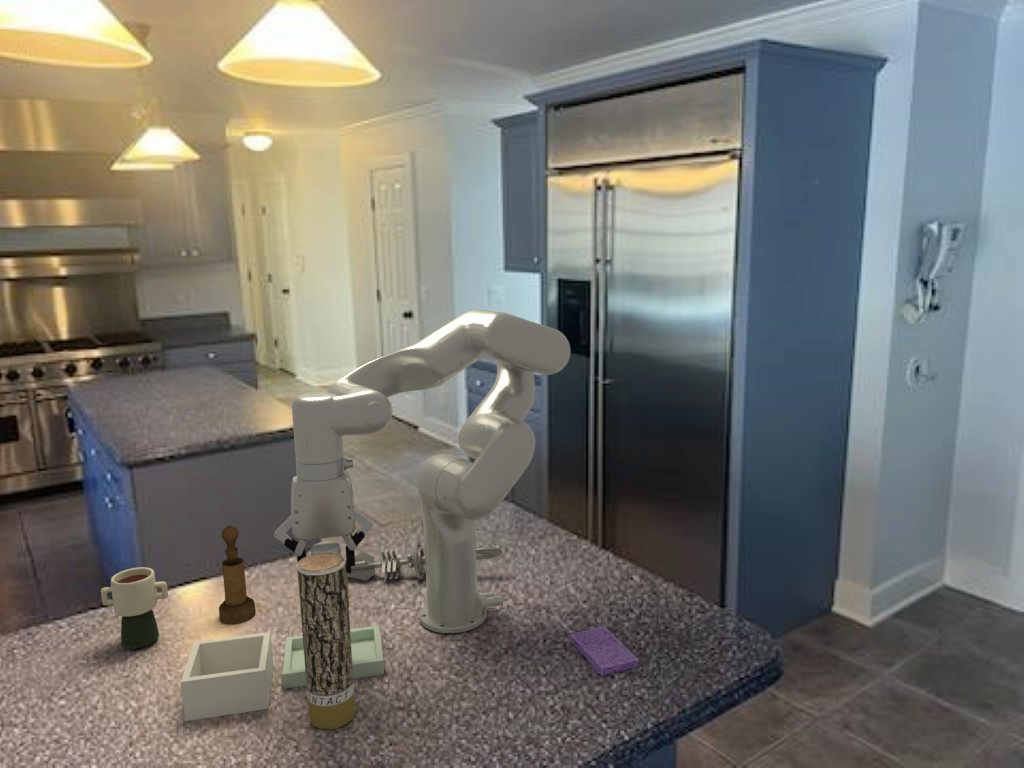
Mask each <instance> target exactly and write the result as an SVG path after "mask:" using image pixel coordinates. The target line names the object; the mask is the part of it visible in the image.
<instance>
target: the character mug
mask: <svg viewBox="0 0 1024 768" xmlns="http://www.w3.org/2000/svg"><path fill="white" fill-rule="evenodd" d="M155 574H156V573H155V570H154V569H153V568H151V567H146V566H145V567H142V566H140V567H139V566H138V567H132V568H128V569H124V570H121V571H119V572H117V573H116V574H114V575H113V576H111V578H110V586H105V587H102V588H101V589H100V595H101V603H102V605H103V606H111V605H113V610H114V612H115V614H116V615H117V616H120V617H121V625H120V626H121V627H120V628H121V629H120V644H121V645H122V646H123V647H124V648H127V649H132V650H133V649H139V648H140V649H141V648H143V647H145V646H148V645H150V644H152V643H153V642H155V641H156V640H157V639H158V638H159V636H160V632H159V627H158V624H157V620H156V616H155V612H154V610H153V609H155V607H156V606H157V603H158V600H165V599H167V598H168V597H169V591H168V590H169V589H168V584H167V582H166V581H163V580H162V581H156V575H155ZM157 588H160V589H161V593H158V591H157ZM108 593H111V595H112V599H109V598H108Z"/></svg>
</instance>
